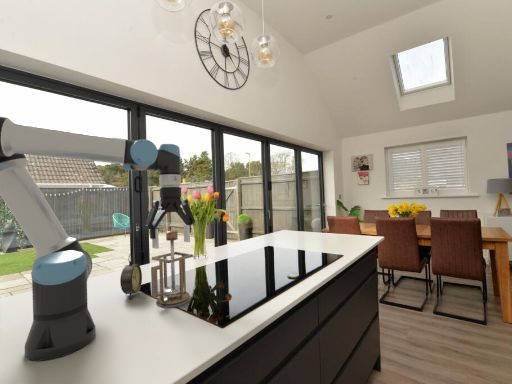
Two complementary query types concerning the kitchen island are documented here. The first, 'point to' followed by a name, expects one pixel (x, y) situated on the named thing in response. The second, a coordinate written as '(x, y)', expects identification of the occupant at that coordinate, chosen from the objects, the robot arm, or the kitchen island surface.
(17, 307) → the kitchen island surface
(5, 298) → the kitchen island surface
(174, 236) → the plunger
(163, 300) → the press frame
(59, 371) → the kitchen island surface
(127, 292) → the alarm clock
